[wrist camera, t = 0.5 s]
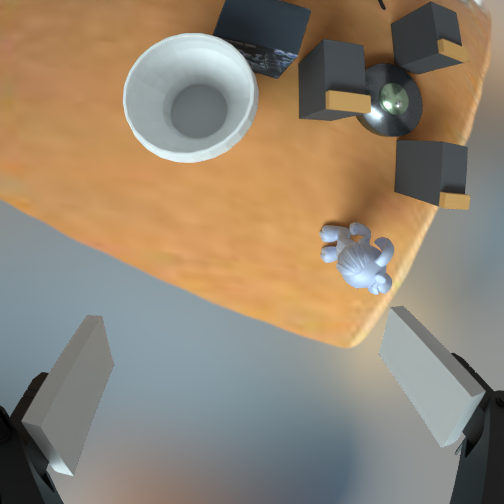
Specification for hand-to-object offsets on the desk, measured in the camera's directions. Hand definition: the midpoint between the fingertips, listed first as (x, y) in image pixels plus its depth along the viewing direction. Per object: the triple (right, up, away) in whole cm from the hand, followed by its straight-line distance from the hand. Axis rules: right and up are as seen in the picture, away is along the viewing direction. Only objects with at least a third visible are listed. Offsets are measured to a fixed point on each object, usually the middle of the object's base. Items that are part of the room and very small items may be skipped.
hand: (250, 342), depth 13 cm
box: (0, +28, +19) cm, 33 cm away
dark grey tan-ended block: (+21, +32, +19) cm, 42 cm away
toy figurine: (+11, +5, +27) cm, 30 cm away
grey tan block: (+8, +23, +21) cm, 32 cm away
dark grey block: (+21, +15, +24) cm, 36 cm away
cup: (-6, +20, +21) cm, 29 cm away
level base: (+17, +23, +21) cm, 36 cm away
